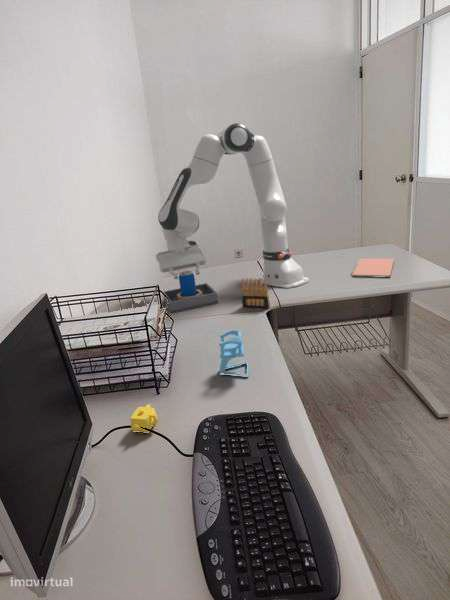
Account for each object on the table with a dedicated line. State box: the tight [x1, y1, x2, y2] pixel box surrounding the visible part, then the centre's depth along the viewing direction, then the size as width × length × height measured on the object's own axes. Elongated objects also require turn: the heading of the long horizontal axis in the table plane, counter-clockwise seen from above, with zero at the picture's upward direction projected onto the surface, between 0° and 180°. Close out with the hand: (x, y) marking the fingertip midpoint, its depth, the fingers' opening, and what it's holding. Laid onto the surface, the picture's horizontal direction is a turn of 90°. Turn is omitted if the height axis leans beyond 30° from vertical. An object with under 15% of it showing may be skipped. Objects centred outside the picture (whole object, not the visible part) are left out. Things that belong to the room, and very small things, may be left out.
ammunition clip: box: [241, 278, 271, 310], centre depth 157 cm, size 11×2×12 cm, turn 69°
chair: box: [218, 330, 249, 375], centre depth 112 cm, size 8×8×12 cm
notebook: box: [350, 257, 395, 277], centre depth 189 cm, size 27×17×2 cm, turn 155°
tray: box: [162, 282, 219, 314], centre depth 172 cm, size 16×20×4 cm
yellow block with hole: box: [129, 404, 159, 432], centre depth 93 cm, size 8×6×5 cm
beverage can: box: [178, 270, 197, 297], centre depth 171 cm, size 6×6×12 cm
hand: (187, 276), depth 170 cm, fingers open, 8 cm apart
